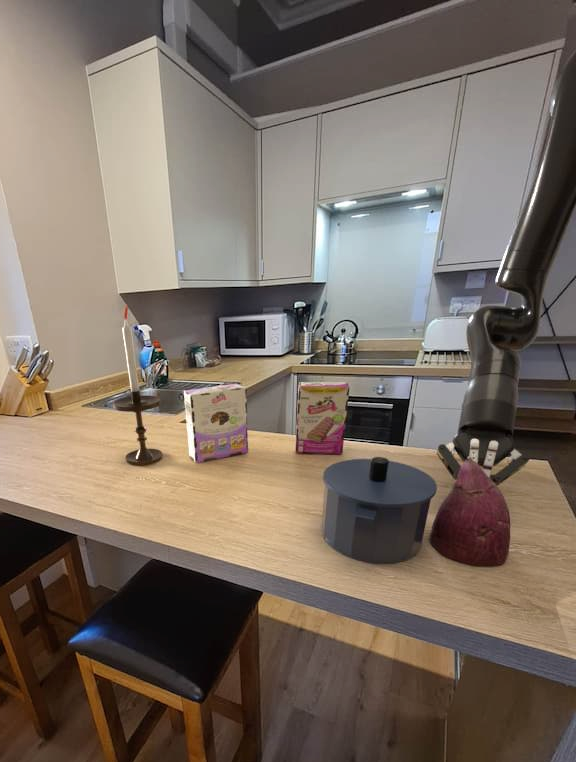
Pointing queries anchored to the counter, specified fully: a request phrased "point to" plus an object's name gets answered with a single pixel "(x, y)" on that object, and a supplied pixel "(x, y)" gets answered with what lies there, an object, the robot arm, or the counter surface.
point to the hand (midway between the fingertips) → (472, 506)
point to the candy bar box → (321, 417)
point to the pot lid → (379, 482)
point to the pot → (373, 529)
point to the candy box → (216, 422)
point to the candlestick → (137, 404)
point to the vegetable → (473, 520)
